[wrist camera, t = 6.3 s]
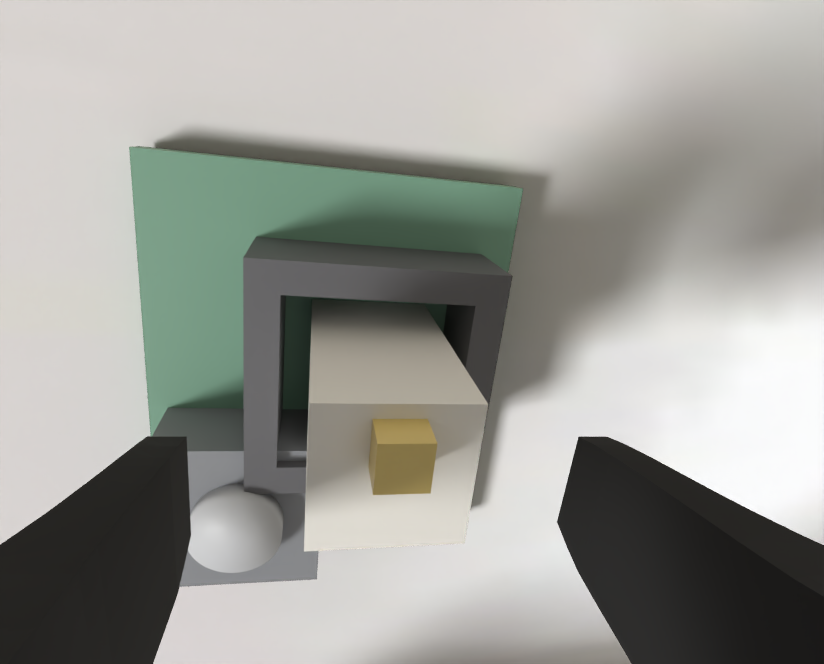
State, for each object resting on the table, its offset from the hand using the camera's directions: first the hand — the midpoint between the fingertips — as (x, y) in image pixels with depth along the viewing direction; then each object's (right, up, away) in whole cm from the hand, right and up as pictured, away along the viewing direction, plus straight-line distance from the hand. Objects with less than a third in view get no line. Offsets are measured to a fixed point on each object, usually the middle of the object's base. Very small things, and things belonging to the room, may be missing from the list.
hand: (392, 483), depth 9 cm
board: (-2, +2, +7) cm, 7 cm away
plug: (-1, +2, +6) cm, 6 cm away
